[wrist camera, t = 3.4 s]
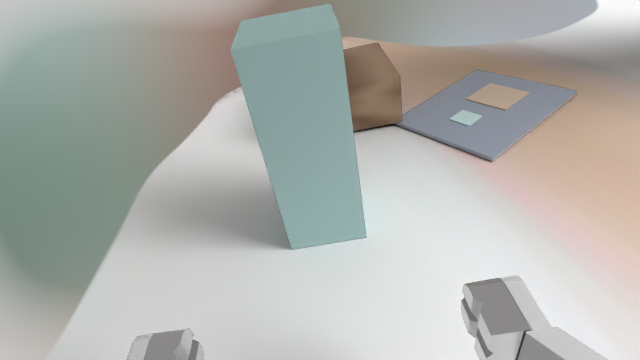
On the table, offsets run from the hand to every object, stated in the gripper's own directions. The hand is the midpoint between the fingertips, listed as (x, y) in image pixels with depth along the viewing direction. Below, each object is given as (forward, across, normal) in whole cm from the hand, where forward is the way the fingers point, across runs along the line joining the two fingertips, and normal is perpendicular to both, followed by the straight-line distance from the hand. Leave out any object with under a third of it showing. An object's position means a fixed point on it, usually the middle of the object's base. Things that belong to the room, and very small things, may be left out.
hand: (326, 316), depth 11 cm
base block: (+25, -3, +6) cm, 26 cm away
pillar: (+11, 0, +6) cm, 13 cm away
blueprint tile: (+21, -14, +6) cm, 26 cm away
